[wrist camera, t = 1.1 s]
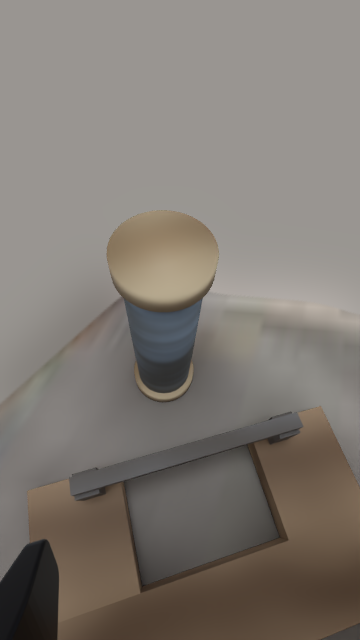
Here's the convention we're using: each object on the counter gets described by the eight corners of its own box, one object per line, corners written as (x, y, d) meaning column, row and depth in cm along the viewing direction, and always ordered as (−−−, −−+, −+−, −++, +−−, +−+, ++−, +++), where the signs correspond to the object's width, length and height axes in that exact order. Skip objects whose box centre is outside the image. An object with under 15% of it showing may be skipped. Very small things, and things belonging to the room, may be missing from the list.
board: (395, 593, 18) (457, 618, 14) (51, 733, 15) (13, 813, 11) (311, 411, 22) (341, 393, 18) (36, 491, 19) (5, 489, 16)
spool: (202, 384, 23) (240, 268, 12) (151, 412, 22) (137, 315, 10) (175, 339, 24) (183, 197, 13) (125, 363, 23) (89, 232, 12)
